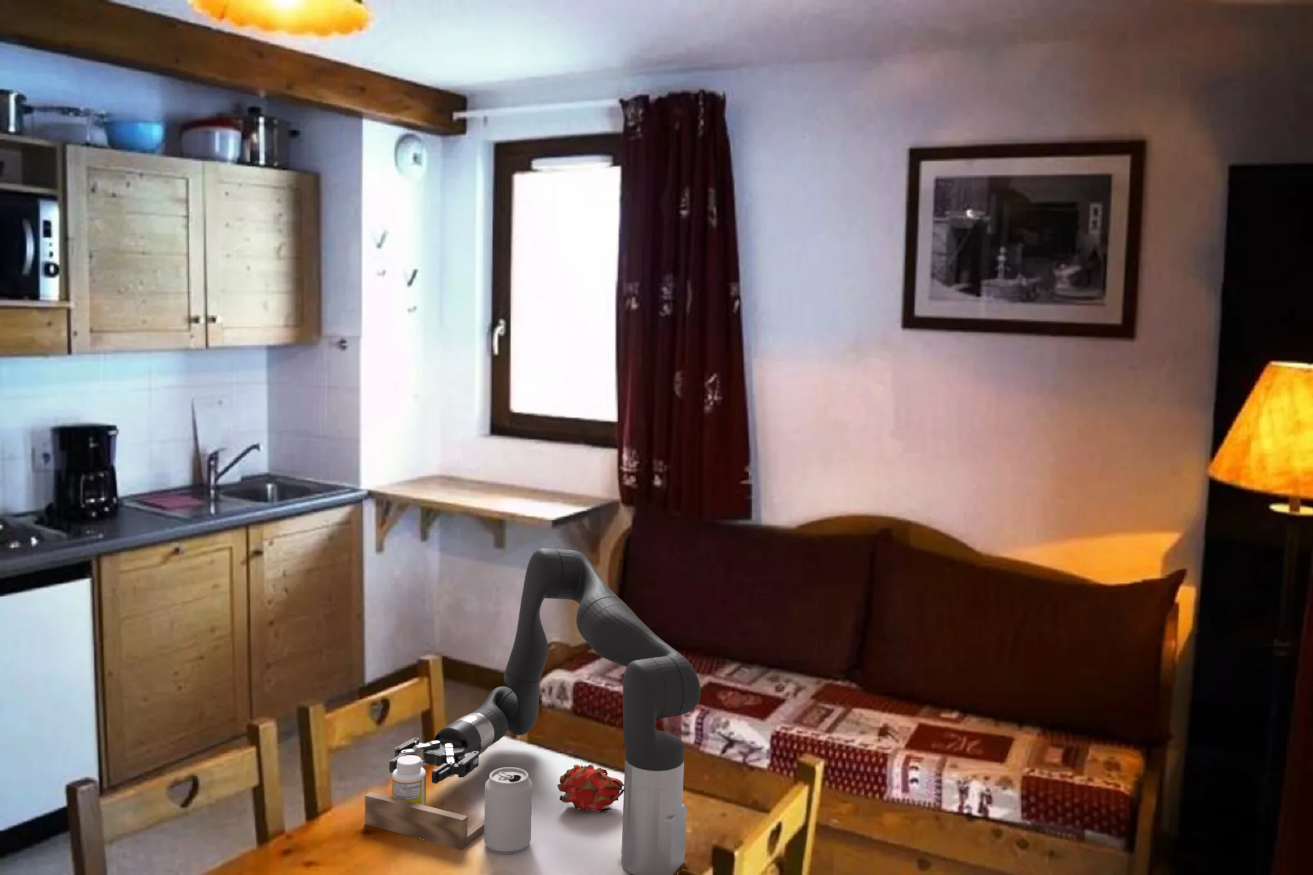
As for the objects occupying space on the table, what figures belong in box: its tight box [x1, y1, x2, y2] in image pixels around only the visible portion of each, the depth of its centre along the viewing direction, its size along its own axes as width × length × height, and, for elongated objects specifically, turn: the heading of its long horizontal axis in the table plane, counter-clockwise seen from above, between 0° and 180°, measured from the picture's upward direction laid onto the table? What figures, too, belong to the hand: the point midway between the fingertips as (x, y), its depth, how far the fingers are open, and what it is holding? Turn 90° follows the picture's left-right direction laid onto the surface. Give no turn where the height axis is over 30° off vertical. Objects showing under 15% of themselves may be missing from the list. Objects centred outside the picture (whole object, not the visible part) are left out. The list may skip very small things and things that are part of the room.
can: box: [483, 766, 533, 855], centre depth 177 cm, size 8×8×12 cm
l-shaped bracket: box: [364, 791, 484, 851], centre depth 182 cm, size 19×8×5 cm, turn 67°
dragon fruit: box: [557, 764, 624, 815], centre depth 191 cm, size 8×8×12 cm
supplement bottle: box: [391, 755, 427, 806], centre depth 185 cm, size 6×6×10 cm
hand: (412, 772), depth 185 cm, fingers open, 8 cm apart
